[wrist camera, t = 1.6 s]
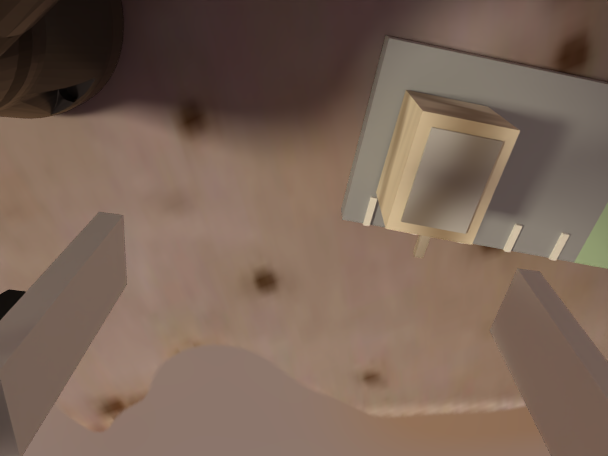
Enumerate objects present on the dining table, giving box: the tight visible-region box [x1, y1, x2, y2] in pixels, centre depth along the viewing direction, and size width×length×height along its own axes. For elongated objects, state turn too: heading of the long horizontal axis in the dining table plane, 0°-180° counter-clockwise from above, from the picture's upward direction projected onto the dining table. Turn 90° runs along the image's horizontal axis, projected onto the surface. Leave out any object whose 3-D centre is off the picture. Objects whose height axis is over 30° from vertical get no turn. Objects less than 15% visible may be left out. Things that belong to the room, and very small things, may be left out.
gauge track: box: [341, 35, 608, 269], centre depth 36 cm, size 31×14×2 cm, turn 79°
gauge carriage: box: [376, 90, 520, 258], centre depth 32 cm, size 6×10×6 cm, turn 169°
